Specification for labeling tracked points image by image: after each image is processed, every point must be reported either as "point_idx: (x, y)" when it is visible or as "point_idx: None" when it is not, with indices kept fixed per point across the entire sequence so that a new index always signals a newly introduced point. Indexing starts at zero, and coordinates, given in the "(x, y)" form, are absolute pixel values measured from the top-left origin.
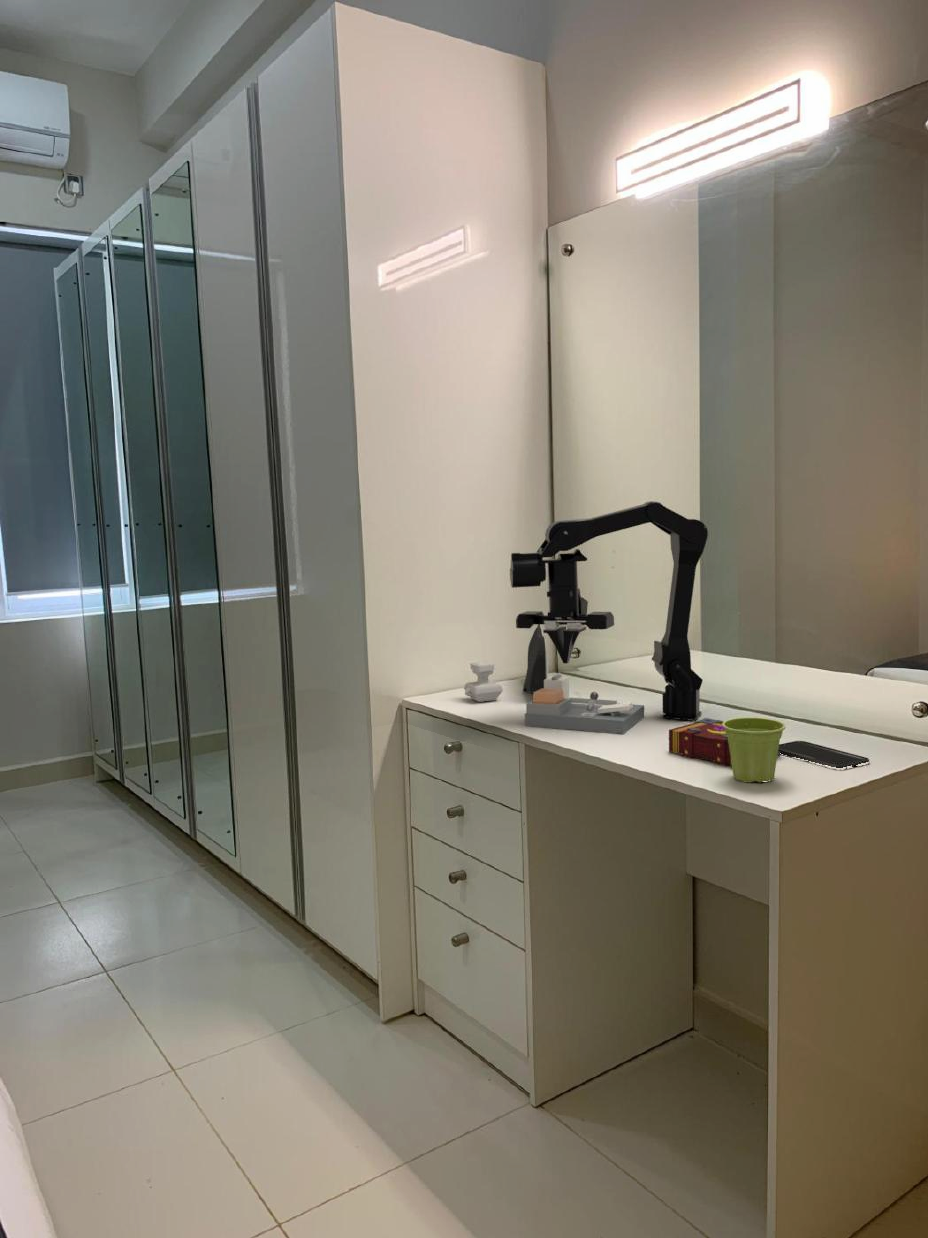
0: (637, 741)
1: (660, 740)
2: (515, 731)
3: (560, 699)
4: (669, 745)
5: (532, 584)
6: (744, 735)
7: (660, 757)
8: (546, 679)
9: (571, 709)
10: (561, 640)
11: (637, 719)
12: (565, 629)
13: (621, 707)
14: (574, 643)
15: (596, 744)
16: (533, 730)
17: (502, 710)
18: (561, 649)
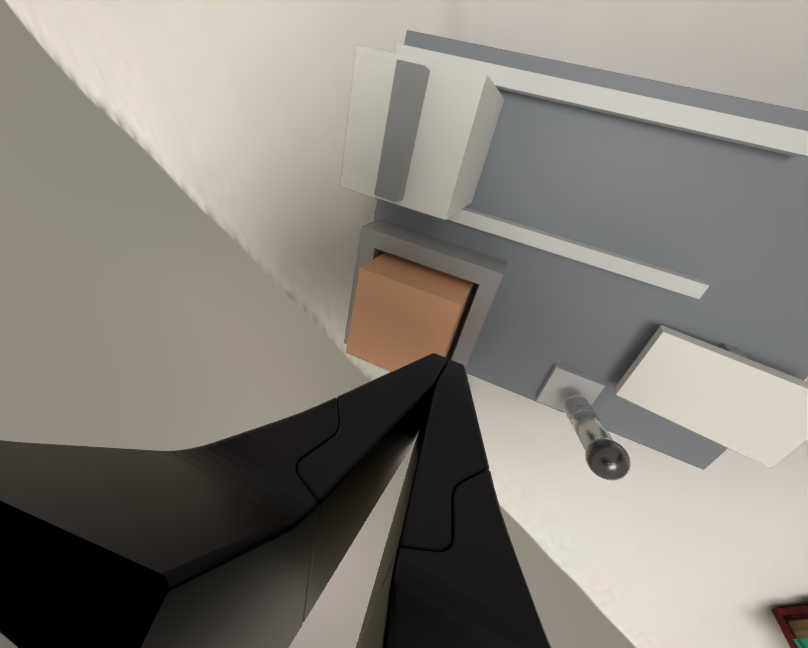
0: (708, 507)
1: (805, 518)
2: (360, 362)
3: (457, 324)
4: (782, 629)
5: None
6: None
7: (721, 621)
8: (350, 171)
9: (510, 276)
10: (322, 570)
11: None
12: (181, 599)
13: (737, 449)
14: (496, 508)
15: (569, 501)
16: None
17: (251, 78)
18: (372, 506)
